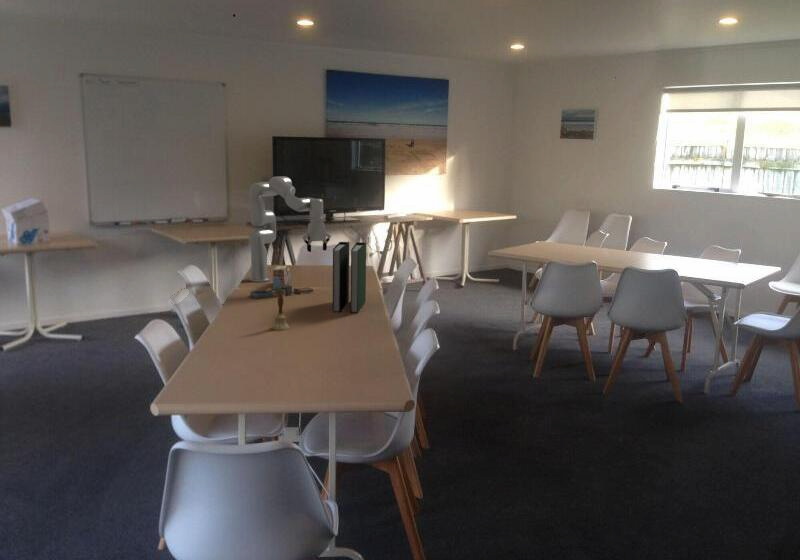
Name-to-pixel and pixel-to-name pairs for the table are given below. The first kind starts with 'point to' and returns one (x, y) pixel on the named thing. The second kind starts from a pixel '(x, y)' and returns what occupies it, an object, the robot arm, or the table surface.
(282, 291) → the socket
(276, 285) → the dowel
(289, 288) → the gray rectangular block
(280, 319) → the hand bell
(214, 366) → the table surface
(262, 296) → the tray
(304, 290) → the board
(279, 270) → the stack of blocks
